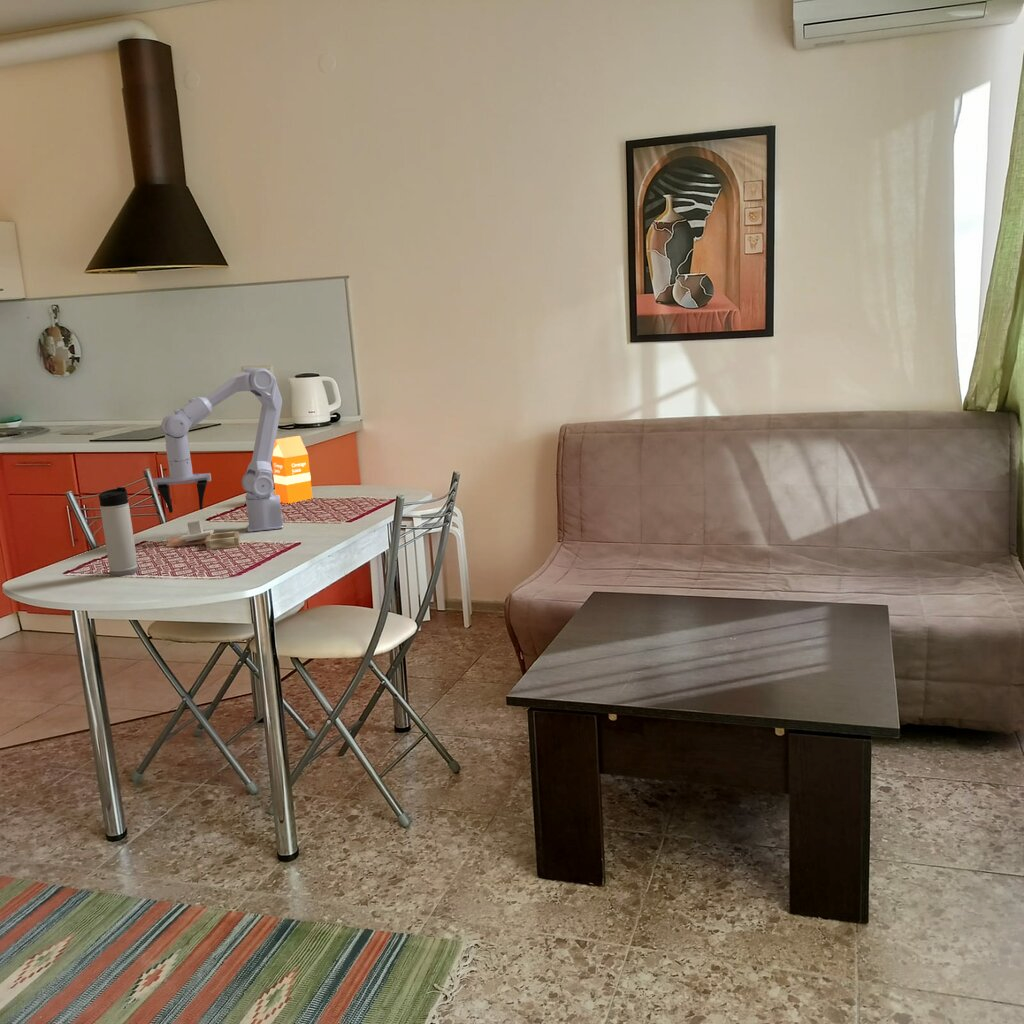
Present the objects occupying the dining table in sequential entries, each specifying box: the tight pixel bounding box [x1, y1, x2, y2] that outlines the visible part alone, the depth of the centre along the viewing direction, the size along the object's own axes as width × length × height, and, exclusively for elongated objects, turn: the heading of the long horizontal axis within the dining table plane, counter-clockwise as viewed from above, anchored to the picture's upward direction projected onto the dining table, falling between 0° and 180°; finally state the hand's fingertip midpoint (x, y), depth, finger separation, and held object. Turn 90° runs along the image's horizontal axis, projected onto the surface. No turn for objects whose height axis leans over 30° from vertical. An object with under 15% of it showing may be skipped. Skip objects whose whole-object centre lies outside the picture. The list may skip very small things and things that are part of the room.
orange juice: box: [271, 435, 313, 504], centre depth 308 cm, size 8×9×20 cm
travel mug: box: [98, 486, 139, 577], centre depth 230 cm, size 6×7×20 cm
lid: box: [179, 519, 215, 542], centre depth 258 cm, size 8×8×5 cm
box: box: [205, 530, 240, 551], centre depth 254 cm, size 8×8×2 cm
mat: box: [165, 533, 213, 548], centre depth 261 cm, size 11×11×1 cm
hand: (186, 510), depth 260 cm, fingers open, 7 cm apart
